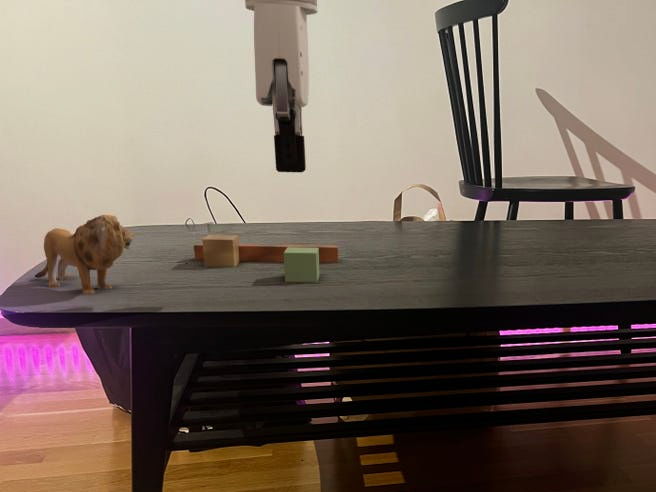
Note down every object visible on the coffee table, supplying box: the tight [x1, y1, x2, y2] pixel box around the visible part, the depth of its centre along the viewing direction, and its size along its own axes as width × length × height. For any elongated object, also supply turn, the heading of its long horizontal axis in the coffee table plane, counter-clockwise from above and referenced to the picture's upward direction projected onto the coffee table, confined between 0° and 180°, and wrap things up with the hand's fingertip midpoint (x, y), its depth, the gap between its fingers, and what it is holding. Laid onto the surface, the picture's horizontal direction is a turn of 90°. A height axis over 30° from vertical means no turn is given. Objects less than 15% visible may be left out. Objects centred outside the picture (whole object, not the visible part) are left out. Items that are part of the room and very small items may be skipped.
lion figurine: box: [34, 214, 135, 295], centre depth 81 cm, size 15×5×9 cm, turn 70°
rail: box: [193, 243, 340, 264], centre depth 101 cm, size 20×1×2 cm, turn 98°
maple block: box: [201, 234, 241, 268], centre depth 98 cm, size 4×4×4 cm
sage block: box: [283, 247, 320, 283], centre depth 91 cm, size 4×4×4 cm
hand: (291, 171), depth 81 cm, fingers closed
